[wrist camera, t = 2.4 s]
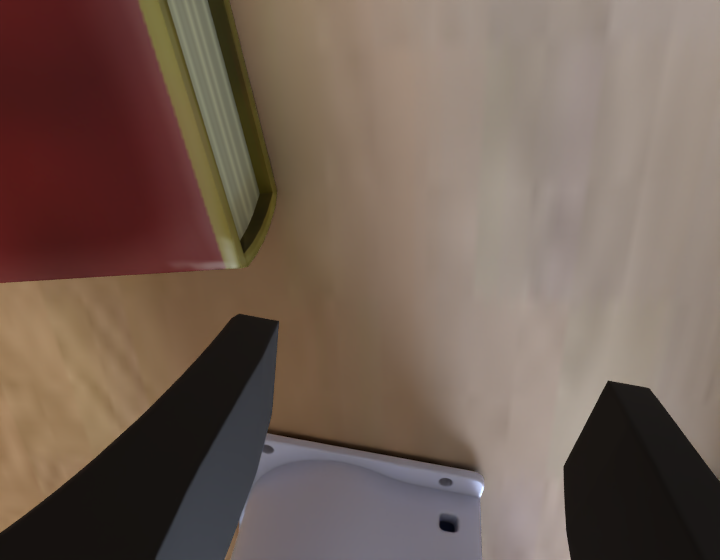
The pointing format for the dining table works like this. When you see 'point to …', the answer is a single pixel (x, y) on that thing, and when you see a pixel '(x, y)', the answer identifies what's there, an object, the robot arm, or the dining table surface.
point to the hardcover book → (127, 140)
